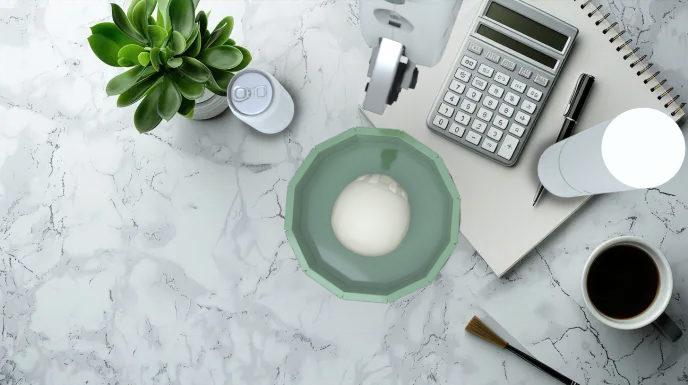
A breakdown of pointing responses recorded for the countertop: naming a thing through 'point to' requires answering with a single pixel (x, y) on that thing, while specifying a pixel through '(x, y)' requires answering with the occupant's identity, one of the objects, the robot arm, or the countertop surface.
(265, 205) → the countertop surface
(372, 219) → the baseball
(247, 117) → the can
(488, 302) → the countertop surface
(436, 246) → the bowl
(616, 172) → the cylindrical container
